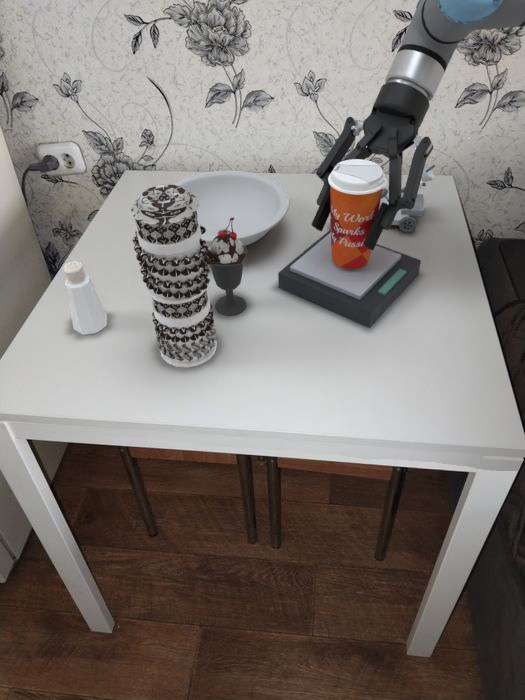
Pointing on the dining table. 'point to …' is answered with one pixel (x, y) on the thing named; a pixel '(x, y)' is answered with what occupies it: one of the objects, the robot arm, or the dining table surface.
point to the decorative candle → (175, 273)
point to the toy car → (418, 210)
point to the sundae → (227, 269)
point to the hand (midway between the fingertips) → (341, 237)
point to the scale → (349, 280)
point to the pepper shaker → (83, 300)
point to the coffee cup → (353, 209)
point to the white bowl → (236, 203)
